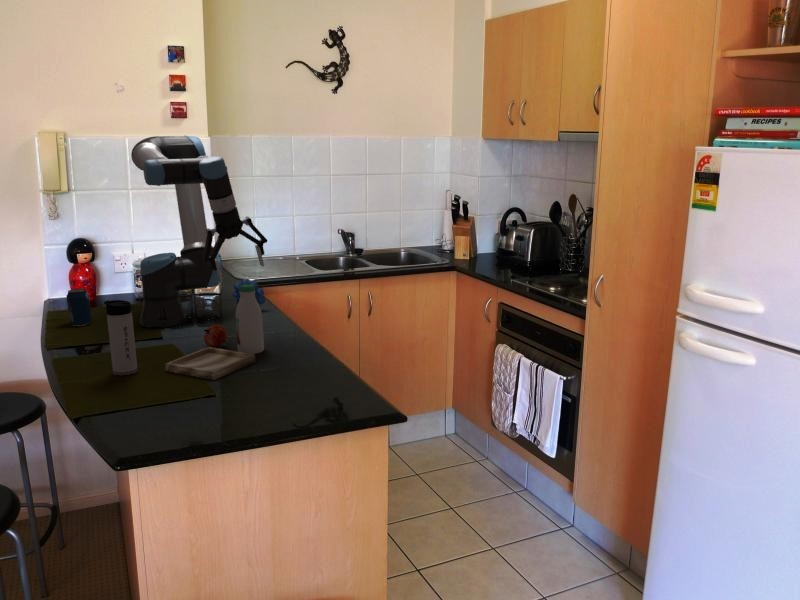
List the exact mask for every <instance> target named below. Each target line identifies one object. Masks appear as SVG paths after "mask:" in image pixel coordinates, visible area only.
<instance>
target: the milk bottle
mask: <svg viewBox="0 0 800 600" xmlns="http://www.w3.org/2000/svg"><path fill="white" fill-rule="evenodd" d="M239 293H240V300H239V303H238V305H236V309H235V332H236V333H235V334H236V344H237V348H236V349H237V352H243V353H249V354H255V355H258V354H260V353H263V352H264V350H265V338H264V323H263V312H262V307H261V308H260V306H259V304H258V302H257V300H256V297H255V285H253V284H243V285H240V286H239Z"/></svg>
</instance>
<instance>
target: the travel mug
mask: <svg viewBox="0 0 800 600" xmlns="http://www.w3.org/2000/svg"><path fill="white" fill-rule="evenodd" d="M103 305H105V309H106V321H107V328H108V329H107V330H108V337H109V339H108V340H109V347H110V357H111V367H112V373H113V374H112V375H114V376H116V375H127V376H131V375H130V374H132V375H134V374H136V373H138V369H139V368H138V361H137V352H136V341H135V331H134V322H133V321H134V320H133V313H132V312H133V311H132V304H131V302H130V301H128V300H122V299H113V300H109V299H108V300H107V299H106V300H105V301H104V302H103ZM133 373H134V374H133Z"/></svg>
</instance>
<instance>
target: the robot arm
mask: <svg viewBox="0 0 800 600" xmlns="http://www.w3.org/2000/svg"><path fill="white" fill-rule="evenodd" d="M130 155H131V161H132V162H133V165H135V167H137V169H139V170H141V171H143V178H144V181H145V184H146V185H148V186H157V187H160V186H171V185H174V187H175V195H176V201H177V209H178V215H179V223H180V230H181V235H182V241H183V247H182V249H180V251H179V252H180V256H177V254H175V252H163V253H157V254H153V255H149V256H146V257H145V258H143V259H142V260H141V262H140V271H139V272H140V277H141V287H142V288H141V289H142V297H143V298H142V299H143V303H142V308H141V315H140V316H139V324H140V323H141V324H142V325H144V326H150V327H162V328H171V327H175V326H180V325H182V324H184V323H186V322H187V313H186V311H185V310H184V307H183V304H182V303H181V299H180V294H179V293H180V291H190V290H199V289H208V288H213V287H217V286H219V284H220V282H221V281H223V280H224V278H223V275H222V274H223V260H222V255H221V254H220V253H219V252H220V250H221V248H222V246H223V244H224V243H225V241H226V240H231V239H232V238H237V237H239V236H242V237H244V238H246V239H247V240H249V241H251V242H252V243H254V244H255V245H254V246H255V247H254V248H255V252H256V255H257V259H258V262H259V265H260V266H261V267H264V266H265V262H264V258H263V256H264V255H265V249H264V244H266V243H267V242H268V239H267V238H266V237H265V236H264V235H263V234H262V233H261V231H260V230H259V229H258V228H257V227H256V226H255V225H254V223H253V220H252V219H251V218H250V216H245V218H243V219H241V217H240V213H239V210H238V207H237V202H236V199H235V195H234V192H233V188H232V184H231V181H230V176H229V173H228V167H227V166H226V165H227V164H226V162H225V159H224V158H223V157H222V156H220V155H219V156H217V155H213V156H208V155H207V154H206V150H205V147H204V144H203V142H202V141H201V139H200V138H199V137H198V136H193V135H166V136H165V135H164V136H163V135H162V136H160V135H159V136H157V135H155V136H154V135H153V136H149V137H147V138H146V137H145V138H144V139H141V140H140V141H138V142H137V143H136V144H135V145H134V146H133V148H132V150H131V153H130ZM201 184H203V186H204V190H205V192H206V196H207V199H208V203H209V206H210V210H211V212H212V213H211V214H212V218H213V221H214V225H215V227H214V228H208V226H207V220H206V213H205V206H204V205H205V204H204V200H203V193H202V188H201ZM244 225H245V226H248V227H249V228H251V230H252V231H253V233H255V234H256V236H257V237H259V239H257V238H256V237H255V236H253V235H251V234H250V233H248V232H246V231H245V230H243V229H242V228H243V226H244ZM216 233H217V234H218V236H217V240H216V241H215V244H214V246H213V245H212V244H213V237H214V236H215V234H216Z"/></svg>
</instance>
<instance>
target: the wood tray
mask: <svg viewBox="0 0 800 600" xmlns="http://www.w3.org/2000/svg"><path fill="white" fill-rule="evenodd" d="M254 363H256V354H249V353H243V352H238V350H236V351H235V350H231V349H230V350H229V349H223V348H219V349H218V348H212V347H209V346H207V347H206V348H201V349H199V350H197V351H194V352H191V353H190V354H186V355H184V356H180V357H179V358H176V359H174V360H171V361H169V362H168V361H167V362H166V363H164V364H165V366H164V367H165V371H166V372H167V371H169V372H168V373H172V372H174V373H173V374H178V373H180V374H179V375H183V374H185V376H189V375H191V376H190V377H194V376H196V378H199V377H201V378H200V379H205V378H206V379H207V380H210V379H211V380H212V381H216V380H218V379H220V378H222V377H225V376H226V375H230V374H231V373H233V372H236V371H238V370H241V369H243V368H245V367H247V366H249V365H251V364H254Z"/></svg>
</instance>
